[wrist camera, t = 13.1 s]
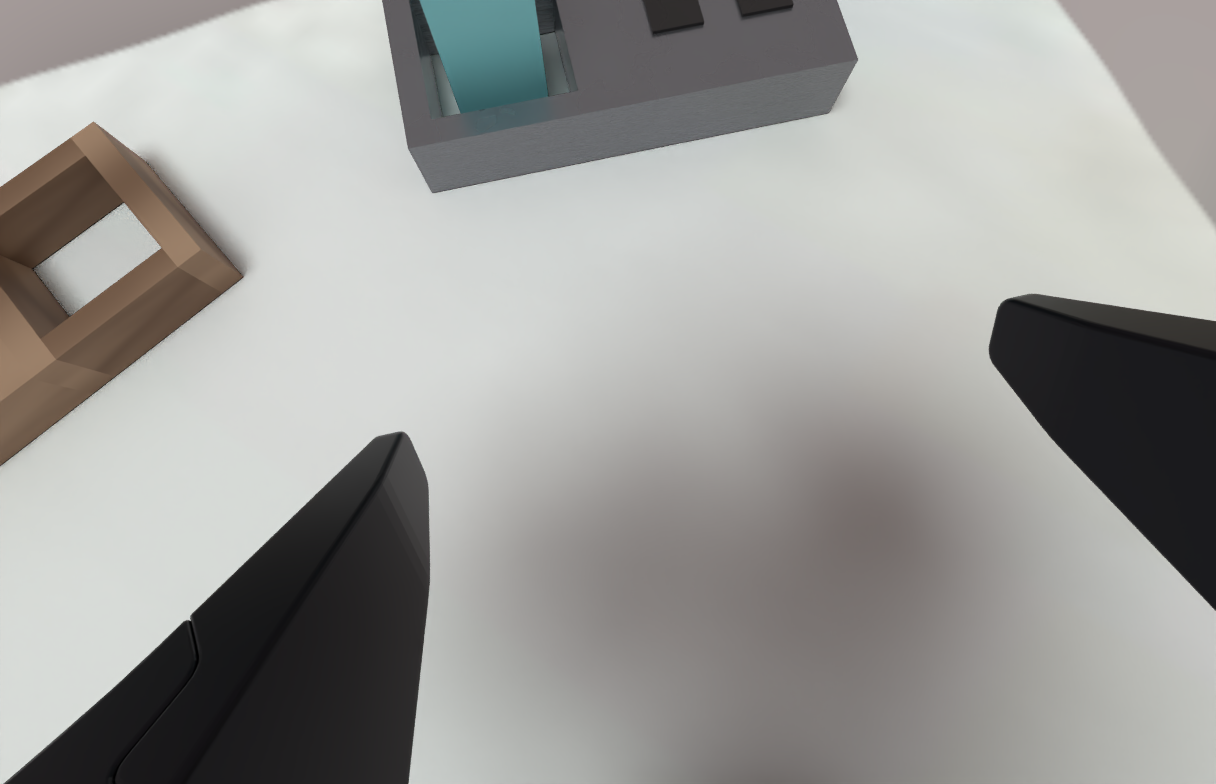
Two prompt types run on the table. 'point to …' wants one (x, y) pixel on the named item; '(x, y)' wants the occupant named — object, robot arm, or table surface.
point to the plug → (488, 50)
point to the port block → (627, 82)
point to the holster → (117, 318)
